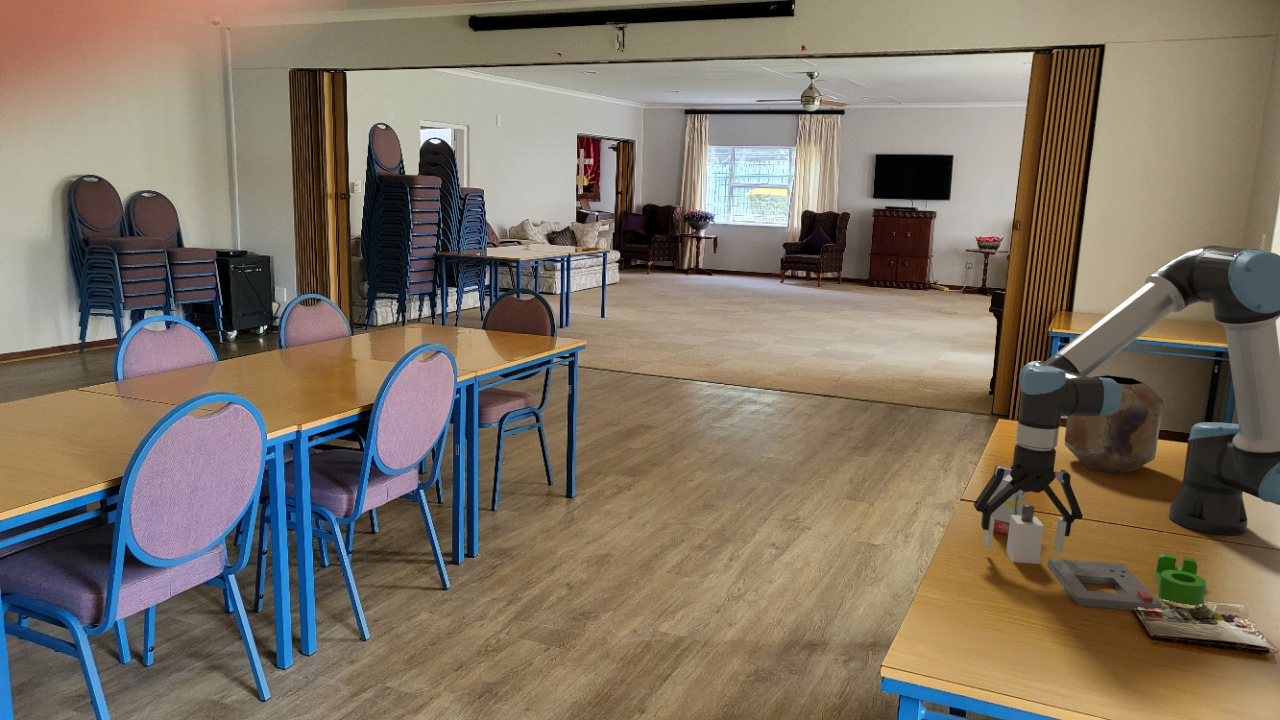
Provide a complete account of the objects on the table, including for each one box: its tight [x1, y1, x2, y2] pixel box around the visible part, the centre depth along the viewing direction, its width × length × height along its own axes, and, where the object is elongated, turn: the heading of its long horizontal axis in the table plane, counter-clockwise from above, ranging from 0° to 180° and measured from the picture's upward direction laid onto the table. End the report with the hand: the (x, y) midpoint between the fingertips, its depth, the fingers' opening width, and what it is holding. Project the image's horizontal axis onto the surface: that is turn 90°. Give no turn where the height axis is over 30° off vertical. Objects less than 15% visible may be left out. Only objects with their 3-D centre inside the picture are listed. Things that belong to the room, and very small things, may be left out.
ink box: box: [991, 475, 1028, 536], centre depth 204 cm, size 9×5×12 cm, turn 139°
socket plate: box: [1047, 557, 1163, 611], centre depth 175 cm, size 14×18×2 cm
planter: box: [1064, 374, 1164, 474], centre depth 252 cm, size 22×24×24 cm
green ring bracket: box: [1155, 553, 1207, 605], centre depth 174 cm, size 15×7×5 cm, turn 155°
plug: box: [1006, 503, 1044, 565], centre depth 187 cm, size 5×5×11 cm
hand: (1022, 548), depth 188 cm, fingers open, 13 cm apart
